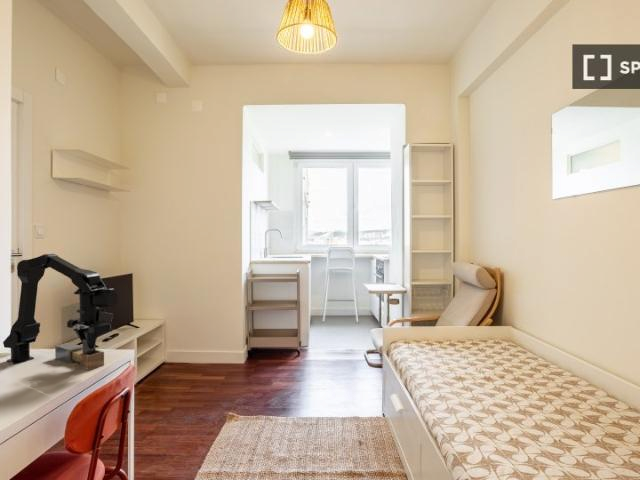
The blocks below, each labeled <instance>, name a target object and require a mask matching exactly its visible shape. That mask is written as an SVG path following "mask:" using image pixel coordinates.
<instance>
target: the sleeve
mask: <svg viewBox="0 0 640 480" xmlns="http://www.w3.org/2000/svg"><path fill="white" fill-rule="evenodd" d="M54 346H55V356H54V357H55V359H57V360H60V361H62V362H65V363H68V364H70V363H74V362H75V361H74V360H71V351H73V350H77V349H81V350H83V345H79V344H77V343H72V342H65V343H61V344H58V345H54Z"/></svg>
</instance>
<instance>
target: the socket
mask: <svg viewBox="0 0 640 480" xmlns="http://www.w3.org/2000/svg"><path fill="white" fill-rule="evenodd" d="M102 366H105V352H104V351H102V350H99V349H96V354H92V355H87V354H83V353H80V362H79V367H80V368H83V369H86V370H88V371H89V370H90V371H91V370H93V369H97V368H99V367H102Z"/></svg>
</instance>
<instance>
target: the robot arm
mask: <svg viewBox="0 0 640 480" xmlns="http://www.w3.org/2000/svg"><path fill="white" fill-rule="evenodd" d="M48 268H51V269H52V270H55V272H58V273H60V274H61V275H63V276H65V277H67V278H69V280H71V283H72V284H73V285H74V286H75V287H77V290H76V291H74V293H73V295H79V296H78V297H79V298H78V299H79V300H78V302H79V303H78V304H79V308H78V309H77V310H76V312H77V314H78V313H79V317H75V318H71V319H69V320H68V321H67V322H66V323H67V324H66V325H67V326H66V327H67V328H69V329H73V327H75V328H74V329H73V332H75V333H76V335H77V336H78V338H79V340H80V341H81V343H82V344H83V339H85V338H86V340H87V343H88V345H89V348H90V349H92V348H94V345H96V341H97V339H98V336H99V335H100V334H101V333H103V332H104V333H105V332H107V331H111V330H112V324H111V323H112V321H113V318H114V315H115V314H114V313H112V312H111V313H110V312H106V310H105V309H103V308H114V307H116V306H117V304H118V301H119V296H118V294H117V292H115V289H114V288H108V287H107V286H106V284H105V283H104V281H103V280H102V278H101V276H100V273H99V272H96V271H93V270H90V269H84V268H80V267H79V266H76V265H74V264H73V263H71V262H70V261H68V260H66V259H64V258H62V257H60V256H59V255H57V254H56V253H46V254H42V255H40V256H37V257H32V258H29V259H22V260H20V261H19V262H17V266H16V274H17V277H18V279H19V280H20V282H21V287H20V297H19V304H18V314H17V319H16V321H15V322H14V323H13V324H12V326H11V328H10V333H9V334H8V336H7V337H6V338H5V339H4V340H3V341H2V344H3V347H4V348H6V349H10V359H9V358H8V359H6V362H8V363H10V364H13V365H16V364H20V363H24V362H27V361H31V360H34V359H35V357H33V356H31V354H30V353H31V348H30V344H31V343H35V342H36V341H37V337H38V336H39V333H41V331H40V326H41V322H37V321H36V319H35V315H36V314H35V313H36V304H37V296H38V289H39V288H38V285H39V282H40V281H41V279H42V278H43V277H44V275H45V271H46V269H48ZM100 307H101V308H102V309H101V308H100Z"/></svg>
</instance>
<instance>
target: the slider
mask: <svg viewBox="0 0 640 480" xmlns="http://www.w3.org/2000/svg"><path fill="white" fill-rule="evenodd" d="M82 346H83V350H81V349H77V350H73V351H71V360H74V362H78V363H80V353H83V354H87V355H92V354H96V350H97V349H96V344H95V345H94V348H92V349H90V348H89V345H88V343H87V340H86V338H85V339H83V343H82Z"/></svg>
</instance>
